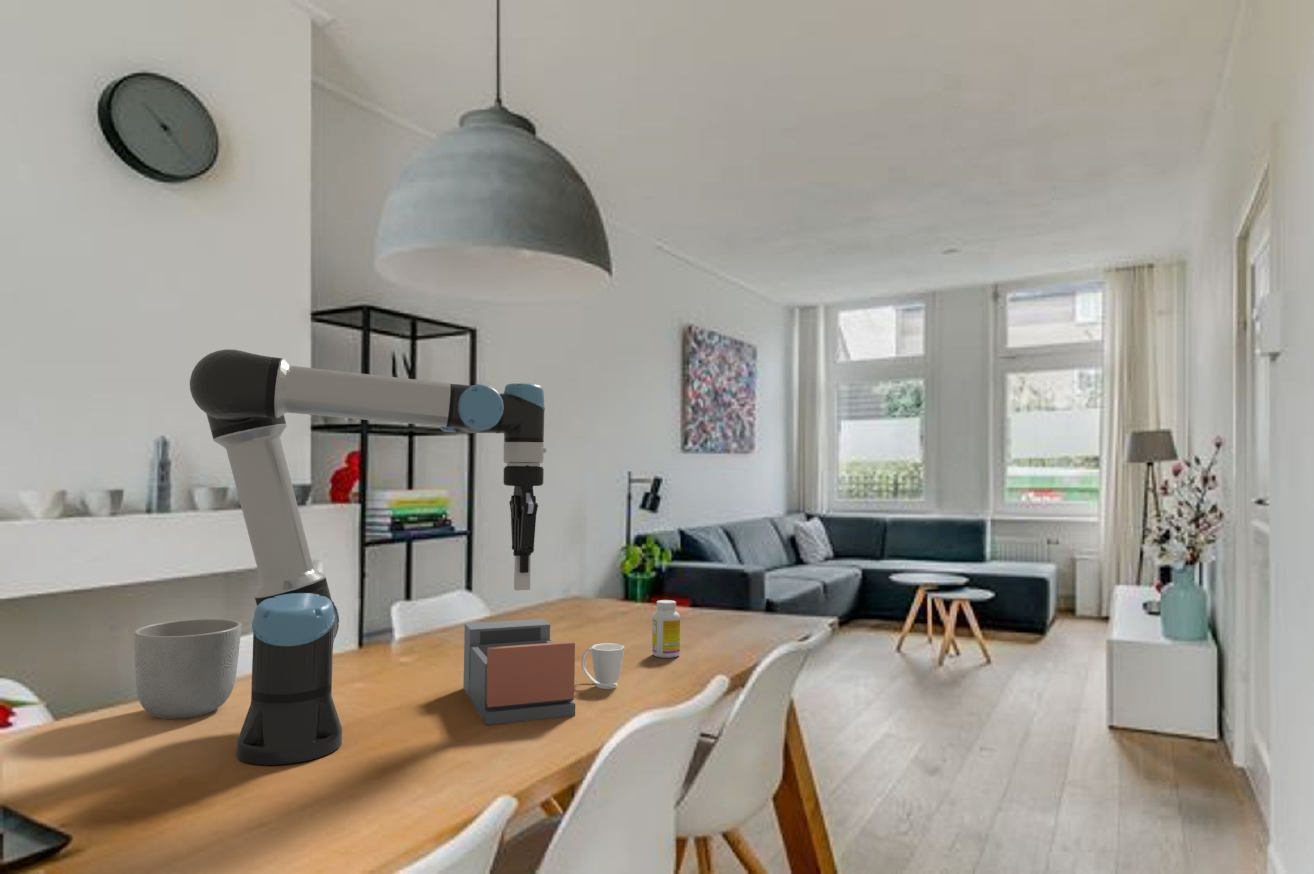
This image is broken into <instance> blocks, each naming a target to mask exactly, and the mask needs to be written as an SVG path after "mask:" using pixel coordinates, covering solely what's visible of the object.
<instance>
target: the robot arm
mask: <svg viewBox="0 0 1314 874" xmlns="http://www.w3.org/2000/svg"><path fill="white" fill-rule="evenodd" d="M189 391H190V395H191V397H192V399H193V401H194V403H195V404H196V406H197V407H198V408H199V409H200V410H201V411H203V412H204V413H205V414H206V417H207V420H208V425H209V429H210V432H211V436H212V440H213V442H215V443H217V444H218V445H220V446H222V447H224V449H225V450H226V454H227V457H228V461H229V465H230V470H231V474H232V476H233V481H234V484H235V488H236V492H237V496H238V500H239V504H240V506H241V512H242V514H243V519H244V522H245V526H246V529H247V534H248V538H249V541H250V546H251V549H252V552H253V557H254V561H255V563H256V568H257V572H258V576H259V581H260V586H259V588H258V589H257V591H256V592H255V594H254V595H253V596H254V600H255V604H256V607H255V610H254V613H253V618H252V621H251V629H252V632H253V633H252V659H251V660H252V661H251V662H252V663H251V692H250V693H251V694H250V695H251V696H250V697H251V698H250V705H249V708H248V710H247V713H246V716H245V719H244V722H243V724H242V726H241V729H240V733H239V735H238V737H237V742H236V757H237V758H238V759H239V760H240V761H242V762H245V763H247V764H253V765H262V766H274V765H275V766H279V765H288V764H289V765H290V764H297V763H302V762H303V763H304V762H307V761H312V760H316V759H318V758H322V757H324V756H326V755H330V754H331V753H333V752H335V751H336V750H338V749H339V748H340V747H341V746H342V743H343V727H342V724H341V721H340V717H339V714H338V712H337V708H336V705H335V703H334V702H335V701H334V699H333V696H332V695H333V694H332V693H333V692H332V690H333V688H332V685H333V684H332V682H333V650H334V643H335V639H336V636H337V634H338V630H339V623H340V615H339V611H338V607H337V606H336V605H335V602H334V601H333V600H332V596H331V592H330V588H329V585H328V584H329V583H328V581H327V578H326V575H325V574H324V573H322V572H321V571H318V570H316V569H315V568H314V563H313V561H312V557H311V552H310V547H309V544H308V541H307V538H306V537H307V536H306V533H305V529H304V525H303V522H302V517H301V513H300V511H299V506H298V502H297V499H296V494H295V491H294V486H293V482H292V479H291V475H290V471H289V467H288V463H287V460H286V455H285V453H284V447H283V444H282V440H281V436H282V434H283V433H284V431H285V429H286V428H287V423H286V418H285V414H286V413H287V414H299V415H310V416H320V417H321V416H322V417H331V418H343V419H352V420H353V419H354V420H365V421H374V422H375V421H376V422H385V423H386V422H388V423H398V424H408V425H419V426H420V425H421V426H432V427H433V426H434V427H439V428H440V430H441V431H442V432H444V433H455V434H464V433H465V434H503V437H504V438H503V463H504V464H506V466H504V467H503V484H504V486H508V487H509V486H510V487H514V488H513V494H512V495H510V496H511V497H510V500H509V509H510V525H511V526H510V528H511V530H510V531H511V550H512V551H513V552H512V554H513V556H514V575H513V577H514V578H513V590H514V591H529V590H531V555H532V554H534V551H535V536H536V524H537V523H536V522H537V512H538V508H539V504H538V502H537V501H536V500H537V499H536V495H535V494H534V487H540V486H542V485H544V474H545V473H544V467H543V466H541V464H543V463H544V454H545V453H546V452H547V448H546V447H544V440H545V439H544V437H545V435H544V434H545V410H546V407H545V393H544V392H545V391H544V389H543V387H542V386H541V385H539V384H535V383H525V382H523V383H515V382H514V383H508V384H506V385H505V387H504V391H503V393H499V391H498V390H497V389H495V388H493V387H492V386H490V385H484V384H475V385H474V384H473V385H467V384H457V383H455V384H454V383H449V382H441V381H440V382H439V381H430V380H422V379H414V378H406V377H405V378H403V377H395V376H389V375H388V376H386V375H378V374H371V373H370V374H367V373H360V372H350V371H343V370H333V369H322V368H315V367H314V368H313V367H305V366H297V365H291V364H290V363H289V361H287V360H286V359H285V358H284V357H283V358H282V357H273V356H268V355H260V354H256V353H252V352H251V353H250V352H249V351H248V352H247V351H242V350H238V349H220V350H216V351H213V352H211V353H209V354H206V355H205V356H204V357H202V358H201V359H200V360H199V361H198V362H196V364H195V366H194V368H193V369H192V371H191V374H190V377H189Z"/></svg>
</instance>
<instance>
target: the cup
mask: <svg viewBox="0 0 1314 874" xmlns="http://www.w3.org/2000/svg"><path fill="white" fill-rule="evenodd" d="M588 652H590V653H591V658H592V666H593V673H594V677H595V678H594V677H593V676H592V675H591V674H590V673H589V672H588V670H587V667H586V657H587V654H588ZM624 653H625V645H622V644H619V643H613V642H611V643H609V642H604V643H597V644H593V645H592V646H591V647H590V648H588V649H585V651H584V652H583V653H582V658H581V669H582V671H583V673H584V675H585V676H586V677H587V678H588V679H589V680H590V681H591V682H592V683H593V684H594V685H596V687H597V688H599V689H601V690H602V689H603V690H612V689H616V688H617V687H618V686H619V684H618V683H617V682H618V681H619V678H620V677H621V676H620V674H621V670H622V667H623V659H624Z"/></svg>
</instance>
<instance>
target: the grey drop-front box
mask: <svg viewBox="0 0 1314 874" xmlns="http://www.w3.org/2000/svg"><path fill="white" fill-rule="evenodd" d="M542 643H555V642H554V641H553V640H552V639H550V640H538V641H524V642H510V643H496V644H482V645H470V673H469V697H468V698H469V700H470V701H471V703H472V704H473V706H474V707H475V710H476V712H477V713H478V714H479V715H480V718H481V719H482V720H483V722H484V723H485V725H486V726H491V725H498V724H499V725H500V724H508V723H517V722H526V721H534V720H535V721H536V720H547V719H555V718H563V717H574V716H576V703H575V702H574V700H571V701H561V702H552V703H542V704H532V705H522V706H512V707H502V708H493V709H487V707H486V689H487V647H501V646H514V645H528V644H542Z"/></svg>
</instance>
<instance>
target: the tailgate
mask: <svg viewBox="0 0 1314 874" xmlns="http://www.w3.org/2000/svg"><path fill="white" fill-rule="evenodd" d="M575 662H576V643H575V642H574V641H572V640H571V641H559V642H558V641H557V642H554V643H542V644H528V645H514V646H501V647H487V689H486V707H487V709H493V708H502V707H512V706H522V705H532V704H542V703H552V702H561V701H571V700H572V701H574V699H575V671H576V670H575V667H576V665H575Z"/></svg>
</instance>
